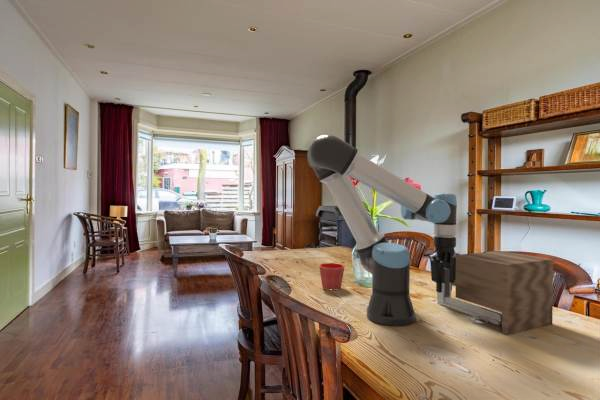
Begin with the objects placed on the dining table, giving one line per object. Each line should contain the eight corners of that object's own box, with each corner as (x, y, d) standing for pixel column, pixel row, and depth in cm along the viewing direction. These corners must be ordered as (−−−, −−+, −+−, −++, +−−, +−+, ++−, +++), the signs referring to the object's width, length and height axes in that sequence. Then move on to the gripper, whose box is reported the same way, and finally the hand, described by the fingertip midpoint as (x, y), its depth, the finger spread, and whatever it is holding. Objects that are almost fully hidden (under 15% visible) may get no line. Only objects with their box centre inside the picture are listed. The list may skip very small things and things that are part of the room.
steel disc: (485, 325, 108) (485, 322, 108) (468, 322, 112) (468, 318, 112) (489, 321, 112) (489, 318, 112) (472, 317, 116) (472, 314, 115)
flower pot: (348, 286, 154) (348, 264, 154) (337, 292, 144) (337, 269, 144) (326, 283, 159) (327, 262, 159) (314, 289, 150) (314, 266, 150)
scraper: (498, 325, 109) (498, 282, 109) (437, 303, 130) (437, 268, 130) (505, 323, 110) (505, 281, 110) (443, 302, 132) (443, 267, 132)
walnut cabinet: (506, 335, 101) (507, 264, 101) (455, 315, 117) (455, 255, 117) (552, 324, 110) (553, 259, 109) (498, 307, 126) (499, 250, 126)
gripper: (452, 234, 136) (451, 295, 136) (420, 235, 129) (420, 300, 130) (468, 236, 129) (467, 300, 129) (436, 238, 123) (435, 306, 123)
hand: (443, 300), depth 130 cm, fingers closed on scraper, 2 cm apart
